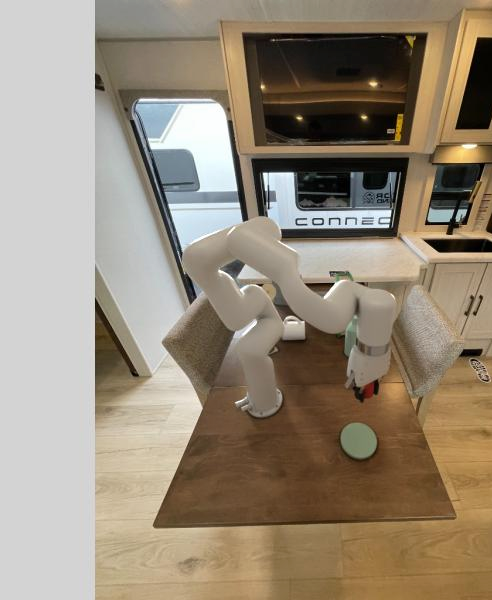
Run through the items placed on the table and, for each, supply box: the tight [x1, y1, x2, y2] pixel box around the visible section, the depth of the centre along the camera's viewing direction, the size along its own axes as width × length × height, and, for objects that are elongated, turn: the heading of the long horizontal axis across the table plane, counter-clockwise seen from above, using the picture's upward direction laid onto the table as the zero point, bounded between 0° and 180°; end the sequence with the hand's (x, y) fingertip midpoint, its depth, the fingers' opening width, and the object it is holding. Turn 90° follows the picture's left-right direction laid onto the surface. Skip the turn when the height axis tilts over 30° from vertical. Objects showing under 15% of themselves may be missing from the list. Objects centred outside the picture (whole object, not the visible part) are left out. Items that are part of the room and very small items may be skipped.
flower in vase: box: [260, 282, 276, 302], centre depth 120 cm, size 13×11×25 cm
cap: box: [364, 381, 374, 400], centre depth 68 cm, size 4×4×4 cm
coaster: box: [340, 422, 378, 460], centre depth 81 cm, size 11×11×1 cm
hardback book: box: [334, 272, 355, 338], centre depth 124 cm, size 18×7×24 cm, turn 4°
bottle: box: [344, 315, 358, 358], centre depth 109 cm, size 7×7×19 cm
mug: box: [281, 315, 306, 341], centre depth 119 cm, size 8×10×12 cm
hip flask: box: [271, 273, 303, 307], centre depth 141 cm, size 16×4×20 cm, turn 86°
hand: (366, 394), depth 69 cm, fingers closed on cap, 3 cm apart
